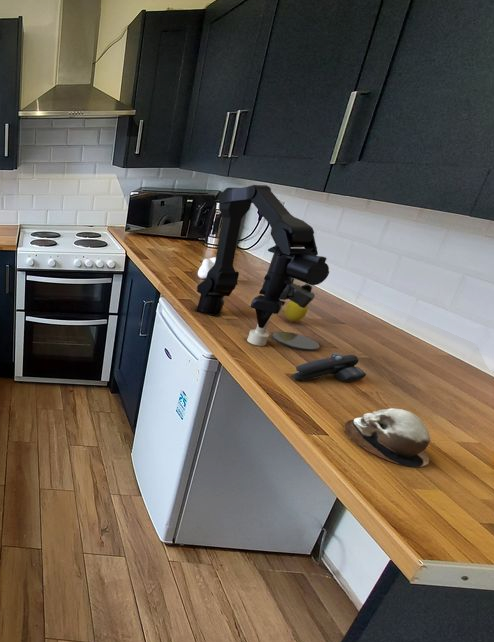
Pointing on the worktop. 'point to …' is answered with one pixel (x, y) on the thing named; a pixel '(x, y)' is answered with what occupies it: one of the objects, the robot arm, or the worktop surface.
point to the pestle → (258, 335)
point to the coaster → (295, 341)
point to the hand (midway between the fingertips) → (261, 326)
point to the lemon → (295, 311)
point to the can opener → (331, 368)
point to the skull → (392, 436)
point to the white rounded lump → (206, 267)
